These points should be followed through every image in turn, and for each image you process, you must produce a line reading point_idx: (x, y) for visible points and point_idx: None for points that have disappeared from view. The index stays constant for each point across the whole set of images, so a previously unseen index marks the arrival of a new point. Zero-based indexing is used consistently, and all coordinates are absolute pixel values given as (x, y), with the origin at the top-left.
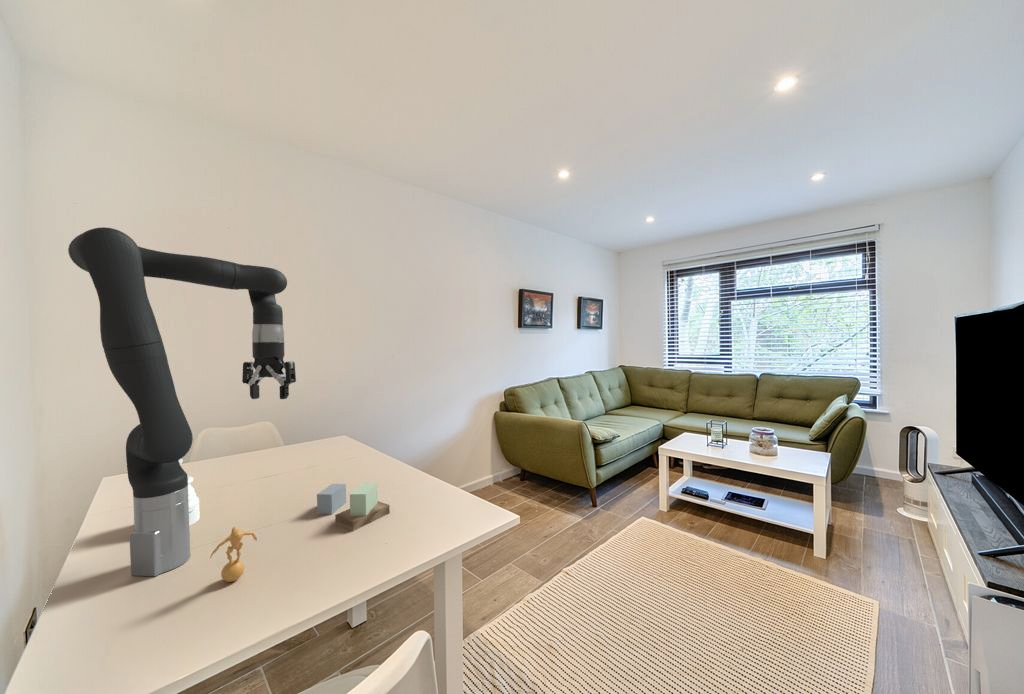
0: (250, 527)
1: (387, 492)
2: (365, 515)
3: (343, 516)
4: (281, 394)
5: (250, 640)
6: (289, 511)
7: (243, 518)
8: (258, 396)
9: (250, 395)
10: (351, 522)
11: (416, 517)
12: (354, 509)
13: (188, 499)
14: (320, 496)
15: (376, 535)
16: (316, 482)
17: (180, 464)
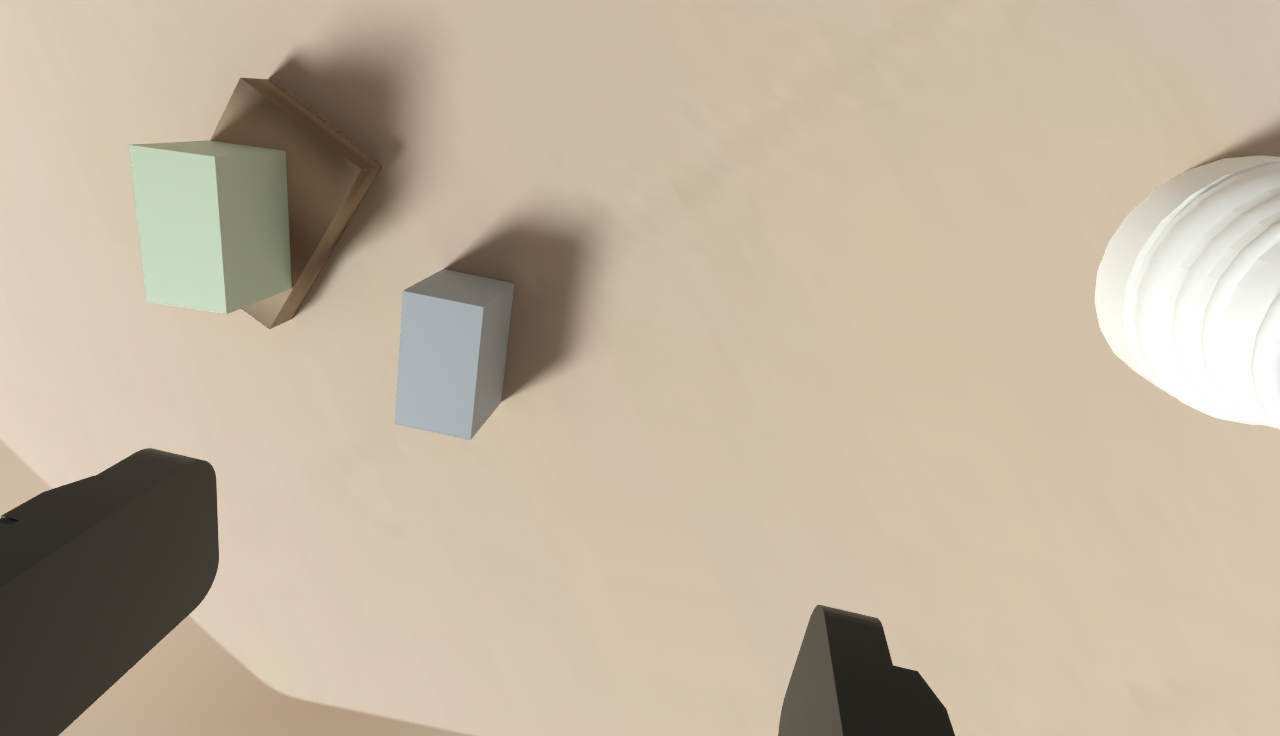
0: (773, 181)
1: (290, 467)
2: (213, 141)
3: (314, 147)
4: (90, 494)
5: None
6: (665, 332)
7: (861, 287)
8: (784, 734)
9: (928, 699)
10: (253, 84)
11: (52, 181)
12: (246, 150)
13: (1190, 291)
14: (467, 300)
15: (147, 24)
16: (690, 649)
17: None
